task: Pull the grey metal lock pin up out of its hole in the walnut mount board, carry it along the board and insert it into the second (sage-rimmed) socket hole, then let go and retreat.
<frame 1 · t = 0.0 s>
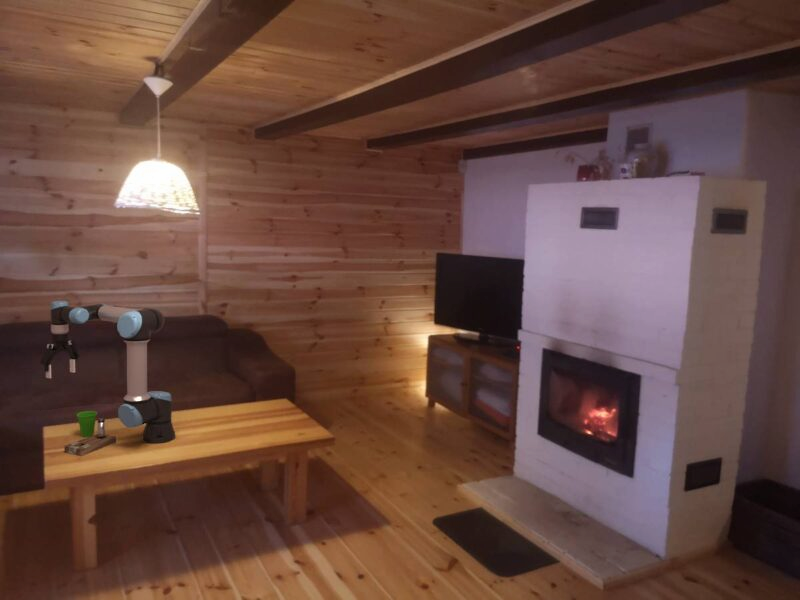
hand: (60, 375, 311), 28 cm above the table, fingers open, 13 cm apart
mount board: (91, 447, 293), on the table
cup: (87, 435, 308), on the table
lock pin: (101, 443, 299), resting in mount board
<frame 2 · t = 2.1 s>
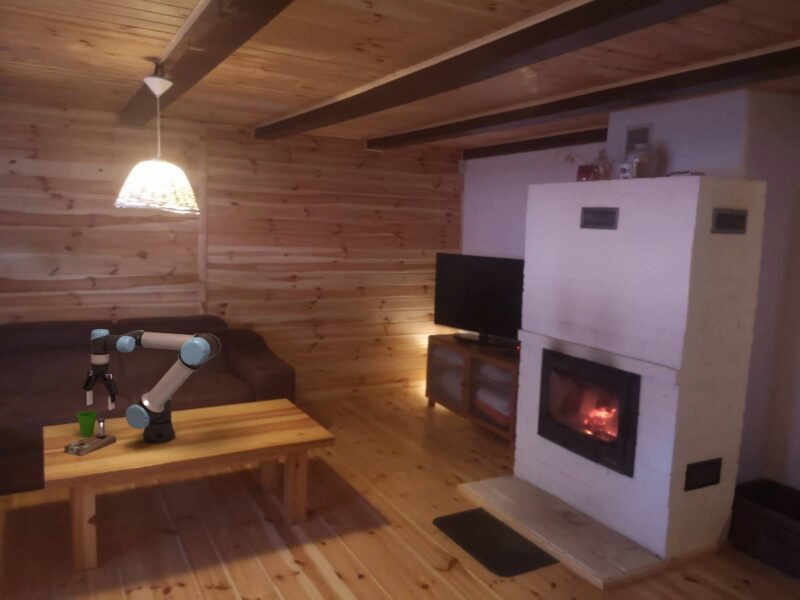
hand: (100, 406, 297), 18 cm above the table, fingers open, 13 cm apart
nothing on the table moved.
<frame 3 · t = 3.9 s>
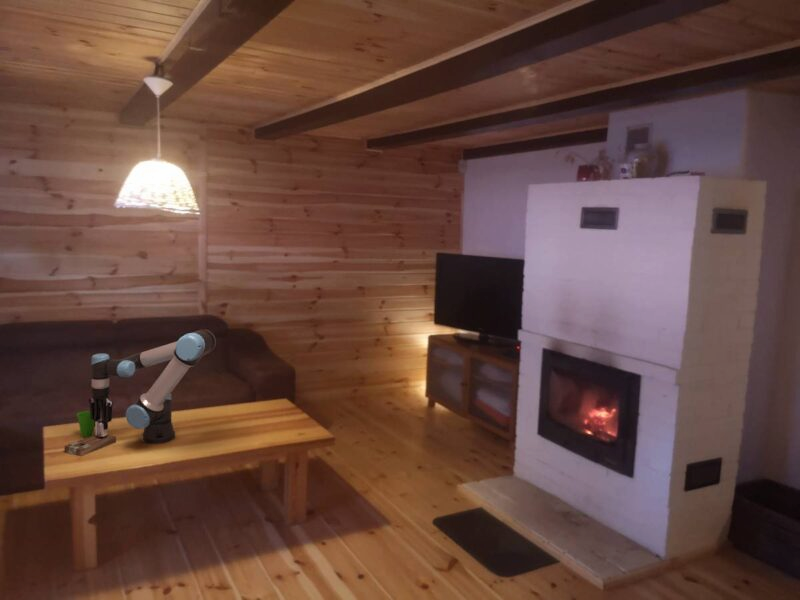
hand: (101, 435, 298), 4 cm above the table, fingers closed on lock pin, 3 cm apart
lock pin: (101, 443, 299), resting in mount board, touching gripper
everything else where it was.
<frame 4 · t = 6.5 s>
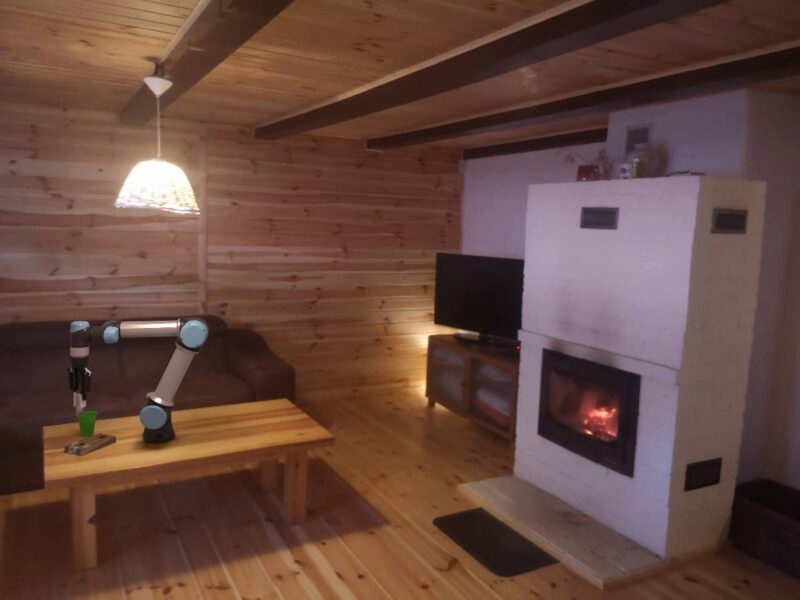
hand: (79, 406, 286), 21 cm above the table, fingers closed on lock pin, 3 cm apart
lock pin: (79, 414, 286), point 17 cm above the table, touching gripper
everything else where it was.
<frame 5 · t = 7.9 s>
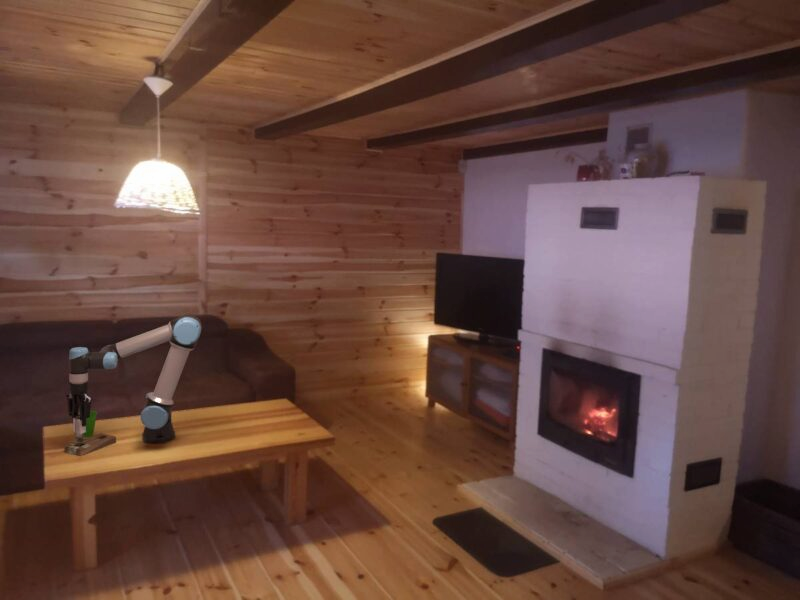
hand: (79, 432, 287), 9 cm above the table, fingers closed on lock pin, 3 cm apart
lock pin: (79, 440, 287), point 5 cm above the table, touching gripper
everything else where it was.
when the fingers open (5 cm above the table, at t = 9.0 s): lock pin drops 1 cm, resting in mount board.
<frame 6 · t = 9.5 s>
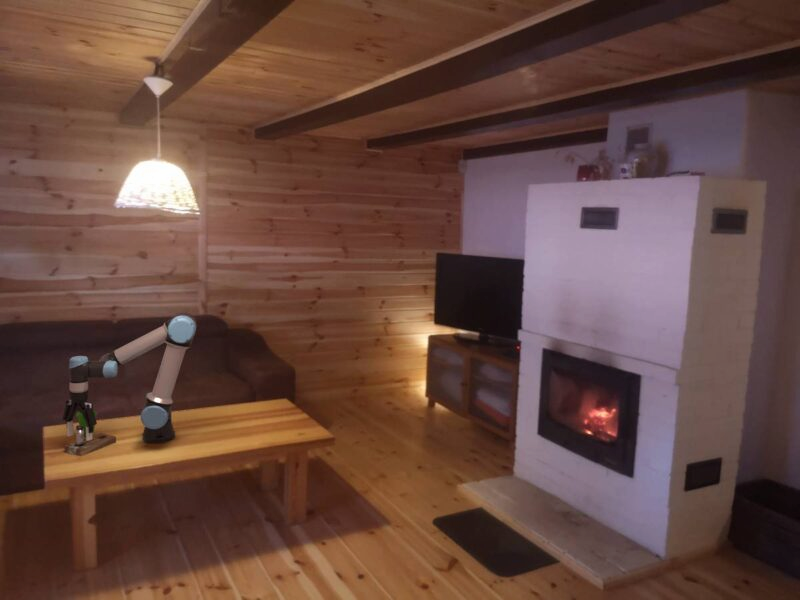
hand: (79, 437, 287), 6 cm above the table, fingers open, 11 cm apart
lock pin: (80, 451, 288), resting in mount board
everything else where it was.
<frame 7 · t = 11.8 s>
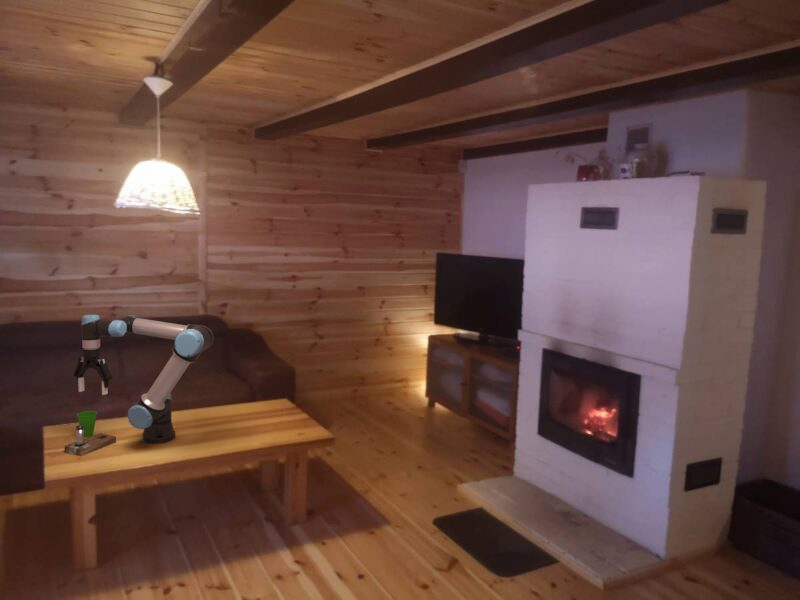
hand: (93, 392, 295), 25 cm above the table, fingers open, 13 cm apart
nothing on the table moved.
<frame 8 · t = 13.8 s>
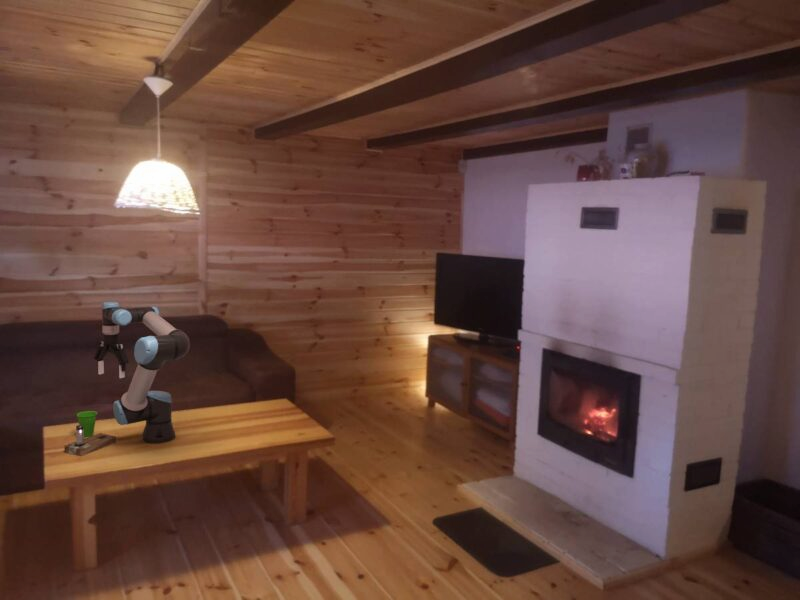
hand: (111, 375, 311), 29 cm above the table, fingers open, 13 cm apart
nothing on the table moved.
at the end: lock pin 0.0 cm from the target spot on the mount board, point 0.0 cm above the mount board's base; lock pin tilted 0°; the gripper is holding nothing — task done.
